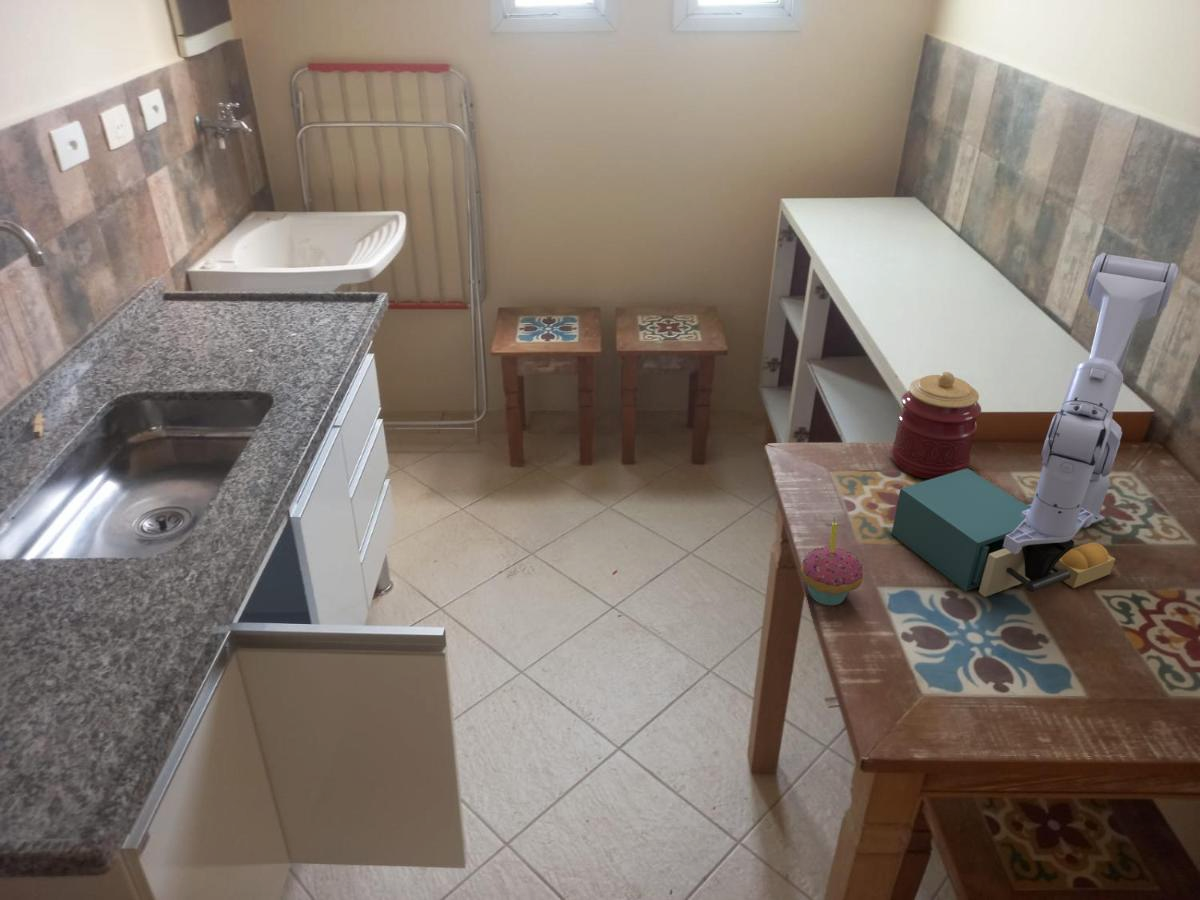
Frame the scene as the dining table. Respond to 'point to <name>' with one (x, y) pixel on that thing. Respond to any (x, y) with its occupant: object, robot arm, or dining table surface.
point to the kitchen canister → (936, 426)
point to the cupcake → (831, 572)
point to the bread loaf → (1086, 564)
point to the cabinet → (955, 521)
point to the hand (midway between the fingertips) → (1033, 578)
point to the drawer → (1008, 570)
